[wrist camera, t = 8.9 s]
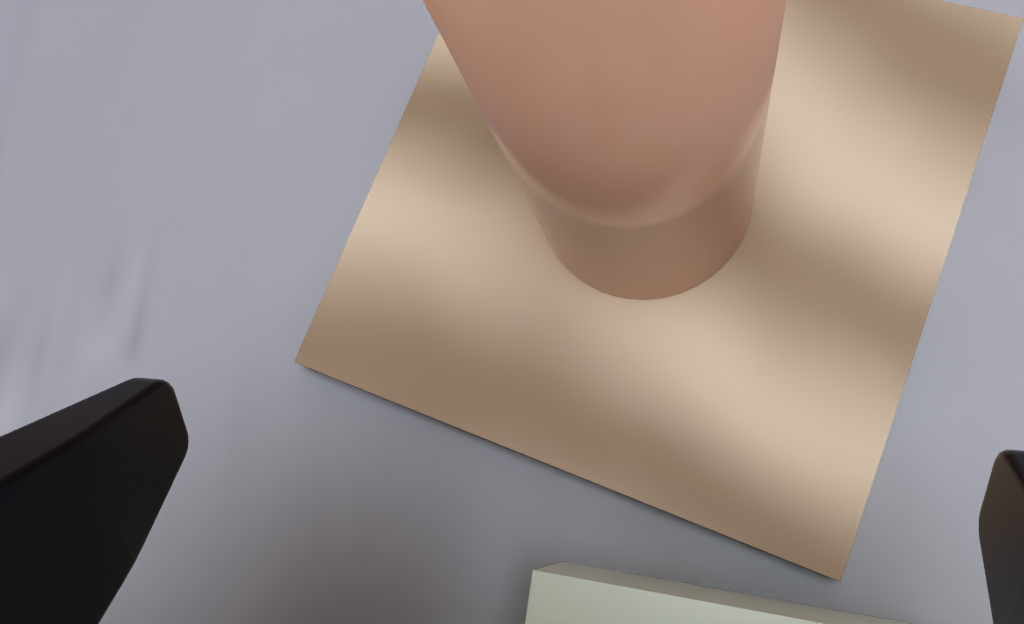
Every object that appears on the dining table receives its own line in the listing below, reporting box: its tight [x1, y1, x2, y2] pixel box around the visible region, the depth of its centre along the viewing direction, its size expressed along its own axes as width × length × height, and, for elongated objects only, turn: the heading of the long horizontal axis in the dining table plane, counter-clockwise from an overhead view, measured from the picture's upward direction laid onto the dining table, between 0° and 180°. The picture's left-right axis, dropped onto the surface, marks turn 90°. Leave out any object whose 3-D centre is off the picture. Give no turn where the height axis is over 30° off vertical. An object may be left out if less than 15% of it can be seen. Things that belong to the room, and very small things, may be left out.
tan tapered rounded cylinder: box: [423, 0, 786, 300], centre depth 16 cm, size 5×5×12 cm
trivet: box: [294, 0, 1023, 582], centre depth 22 cm, size 14×14×1 cm
